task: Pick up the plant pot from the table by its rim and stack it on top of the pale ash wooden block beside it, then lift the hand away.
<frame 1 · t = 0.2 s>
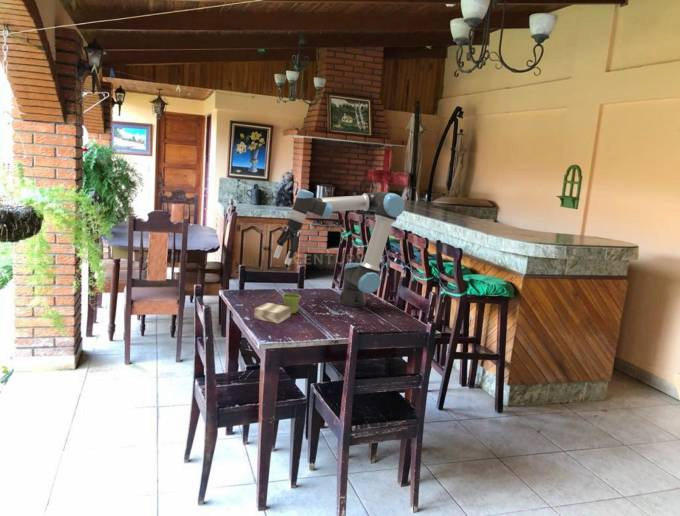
hand: (281, 261, 260), 27 cm above the table, tool tilted 15°, fingers open, 13 cm apart
ash block: (272, 317, 258), on the table
plant pot: (290, 312, 269), on the table
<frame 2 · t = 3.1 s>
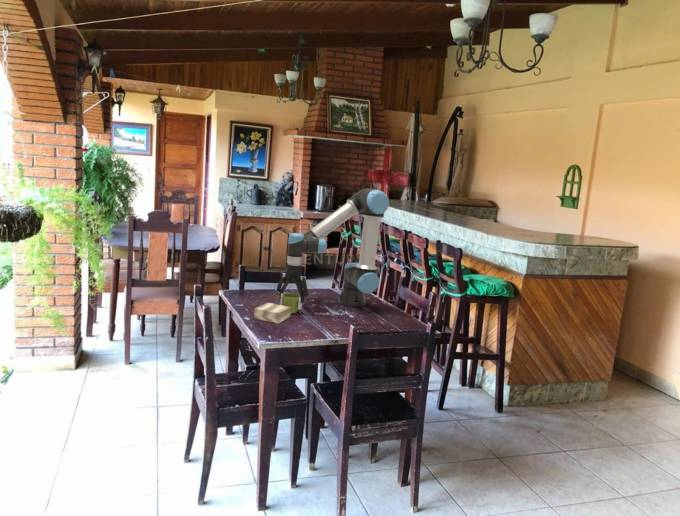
hand: (290, 307, 269), 3 cm above the table, tool pointing down, fingers closed on plant pot, 9 cm apart
plant pot: (290, 312, 269), on the table, touching gripper
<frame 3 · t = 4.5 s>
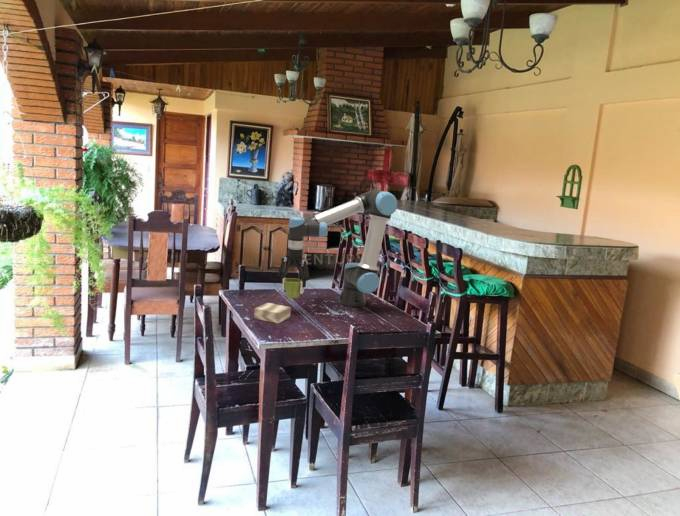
hand: (292, 291, 268), 11 cm above the table, tool pointing down, fingers closed on plant pot, 9 cm apart
plant pot: (292, 297, 268), point 8 cm above the table, touching gripper
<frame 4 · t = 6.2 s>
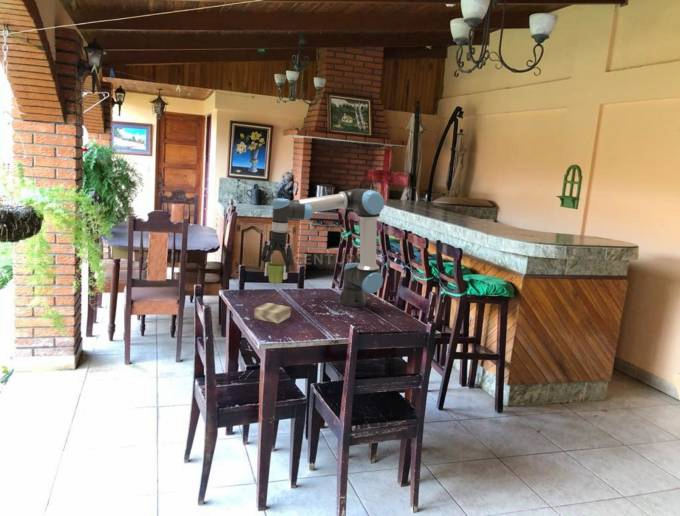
hand: (275, 277, 255), 20 cm above the table, tool pointing down, fingers closed on plant pot, 9 cm apart
plant pot: (275, 282, 255), point 17 cm above the table, touching gripper
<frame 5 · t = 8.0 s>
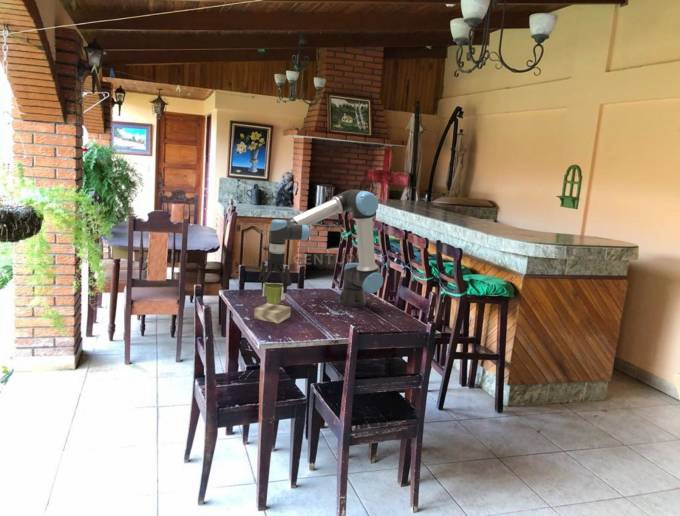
hand: (273, 297, 256), 10 cm above the table, tool pointing down, fingers closed on plant pot, 9 cm apart
plant pot: (273, 303, 256), point 7 cm above the table, touching gripper
when the fingers open (8 cm above the table, at t = 9.4 s): plant pot stays where it is, resting on ash block.
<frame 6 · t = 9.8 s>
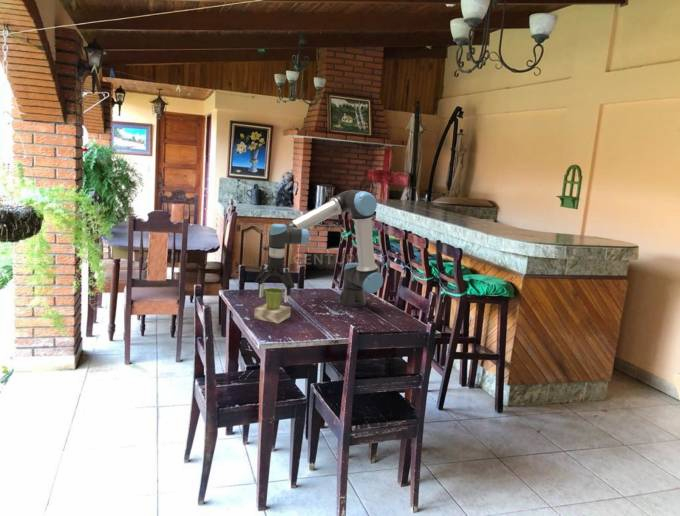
hand: (273, 299, 256), 9 cm above the table, tool pointing down, fingers open, 13 cm apart
plant pot: (273, 308, 257), point 5 cm above the table, touching ash block
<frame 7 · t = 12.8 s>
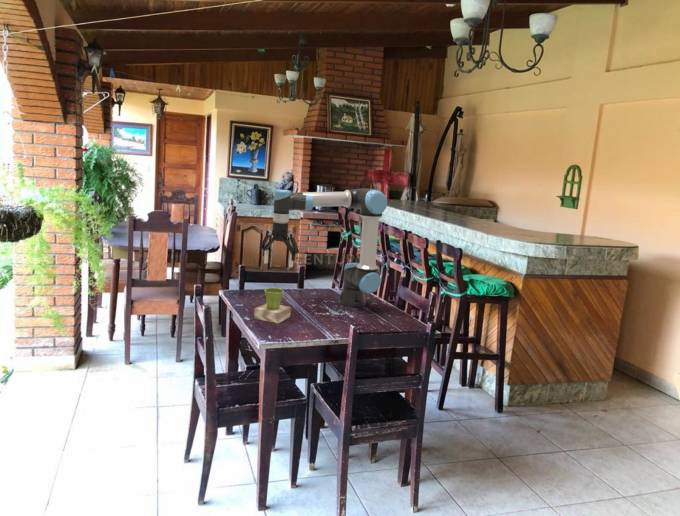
hand: (278, 265, 258), 25 cm above the table, tool pointing down, fingers open, 13 cm apart
nothing on the table moved.
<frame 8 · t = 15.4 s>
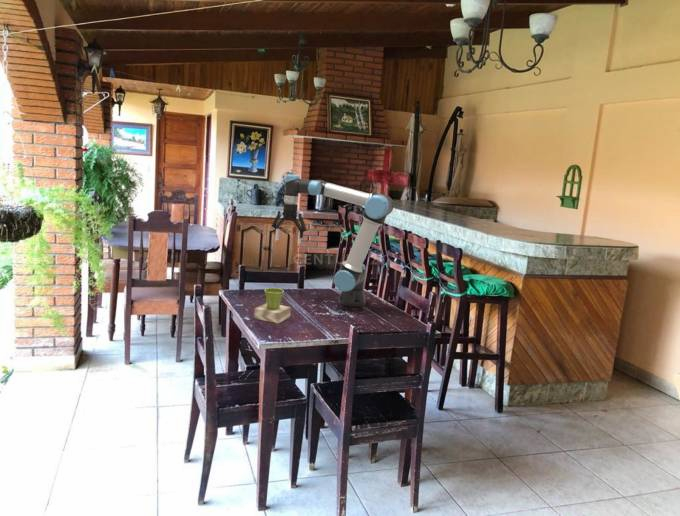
hand: (288, 242, 289), 32 cm above the table, tool pointing down, fingers open, 13 cm apart
nothing on the table moved.
at the end: plant pot inside the target area on the ash block (0.0 cm from its centre), point 4.8 cm above the ash block's base; plant pot tilted 0°; the gripper is holding nothing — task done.
